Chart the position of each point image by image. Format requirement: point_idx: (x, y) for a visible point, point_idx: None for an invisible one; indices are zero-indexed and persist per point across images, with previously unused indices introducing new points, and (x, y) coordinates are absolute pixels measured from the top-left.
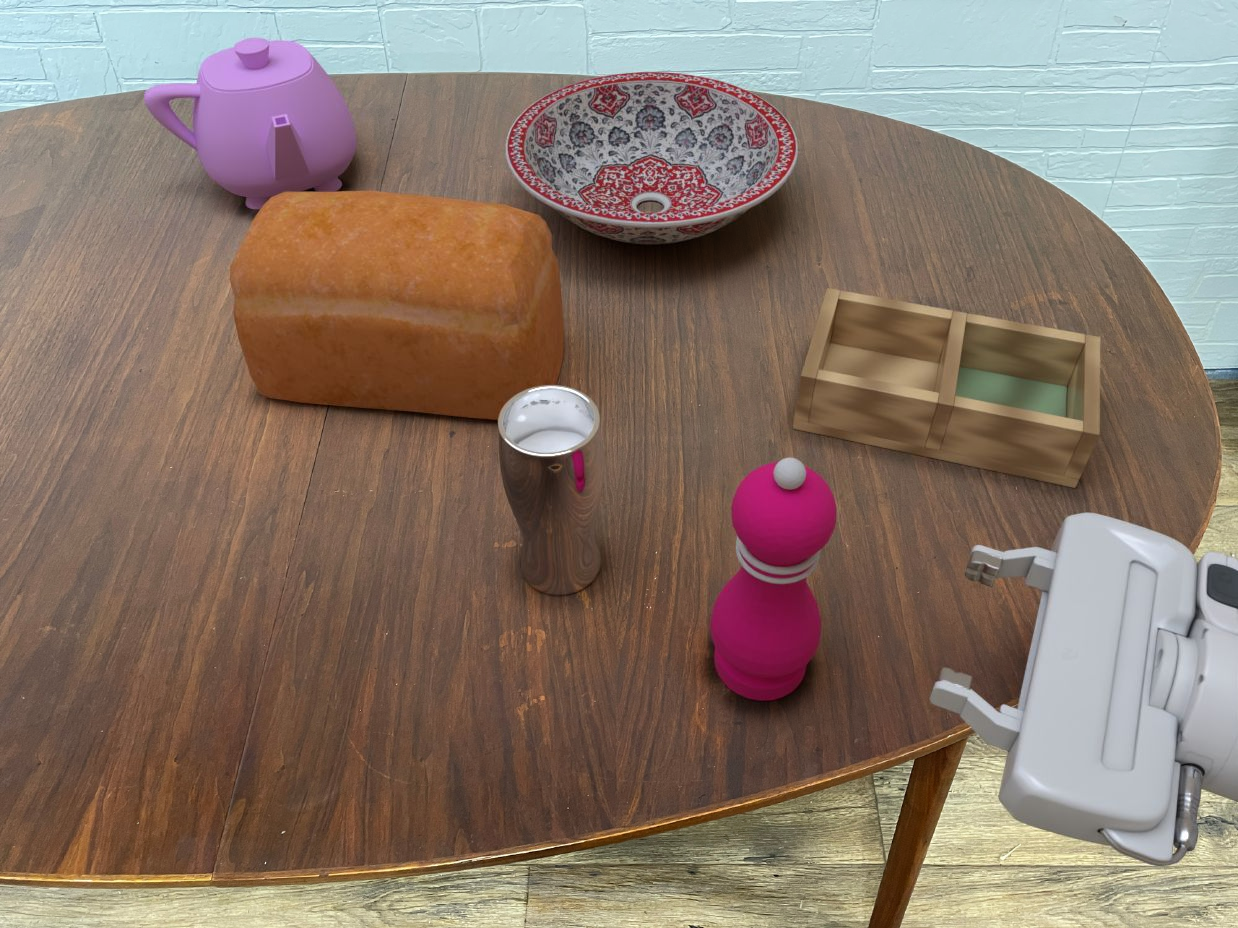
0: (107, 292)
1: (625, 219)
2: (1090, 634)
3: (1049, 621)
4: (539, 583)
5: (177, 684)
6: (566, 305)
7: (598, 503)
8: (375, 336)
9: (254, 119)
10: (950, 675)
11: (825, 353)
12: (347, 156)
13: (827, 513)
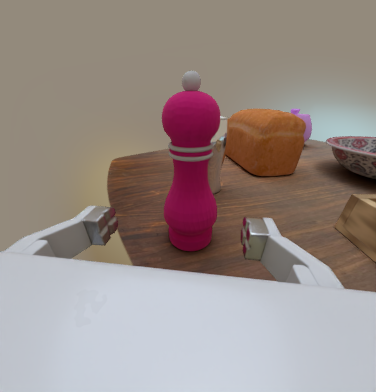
0: None
1: (347, 148)
2: (144, 363)
3: (169, 272)
4: None
5: (150, 160)
6: (307, 173)
7: (210, 158)
8: (237, 134)
9: None
10: (100, 209)
11: None
12: None
13: (183, 104)
